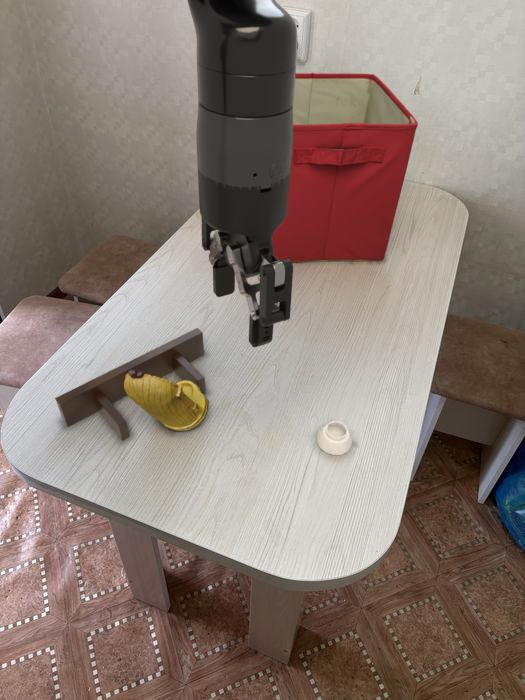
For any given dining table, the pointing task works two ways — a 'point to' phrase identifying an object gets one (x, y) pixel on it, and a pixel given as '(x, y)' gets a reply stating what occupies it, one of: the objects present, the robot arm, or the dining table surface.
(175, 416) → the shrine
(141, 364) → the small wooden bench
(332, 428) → the white jar
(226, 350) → the dining table surface
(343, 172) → the storage cube
